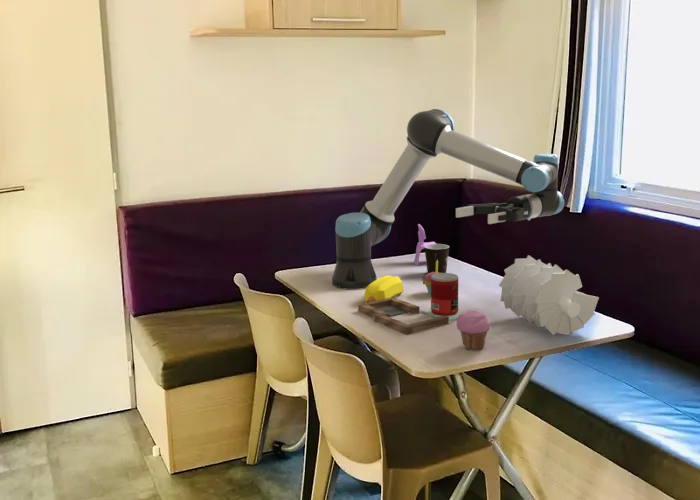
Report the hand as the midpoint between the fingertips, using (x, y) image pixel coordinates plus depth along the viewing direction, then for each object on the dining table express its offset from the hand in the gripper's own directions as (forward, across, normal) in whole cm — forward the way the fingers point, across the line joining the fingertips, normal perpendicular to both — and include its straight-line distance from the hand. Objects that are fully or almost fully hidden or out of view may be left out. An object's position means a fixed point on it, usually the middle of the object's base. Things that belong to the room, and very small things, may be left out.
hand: (472, 216), depth 229 cm
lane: (+23, +5, -28) cm, 37 cm away
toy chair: (-25, +51, -28) cm, 64 cm away
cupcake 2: (+24, -26, -28) cm, 45 cm away
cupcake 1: (-1, +18, -28) cm, 33 cm away
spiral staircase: (-4, -25, -28) cm, 38 cm away
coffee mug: (-16, +36, -28) cm, 49 cm away
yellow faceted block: (+14, +24, -28) cm, 40 cm away
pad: (+11, 0, -28) cm, 30 cm away
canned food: (+11, 0, -28) cm, 30 cm away
